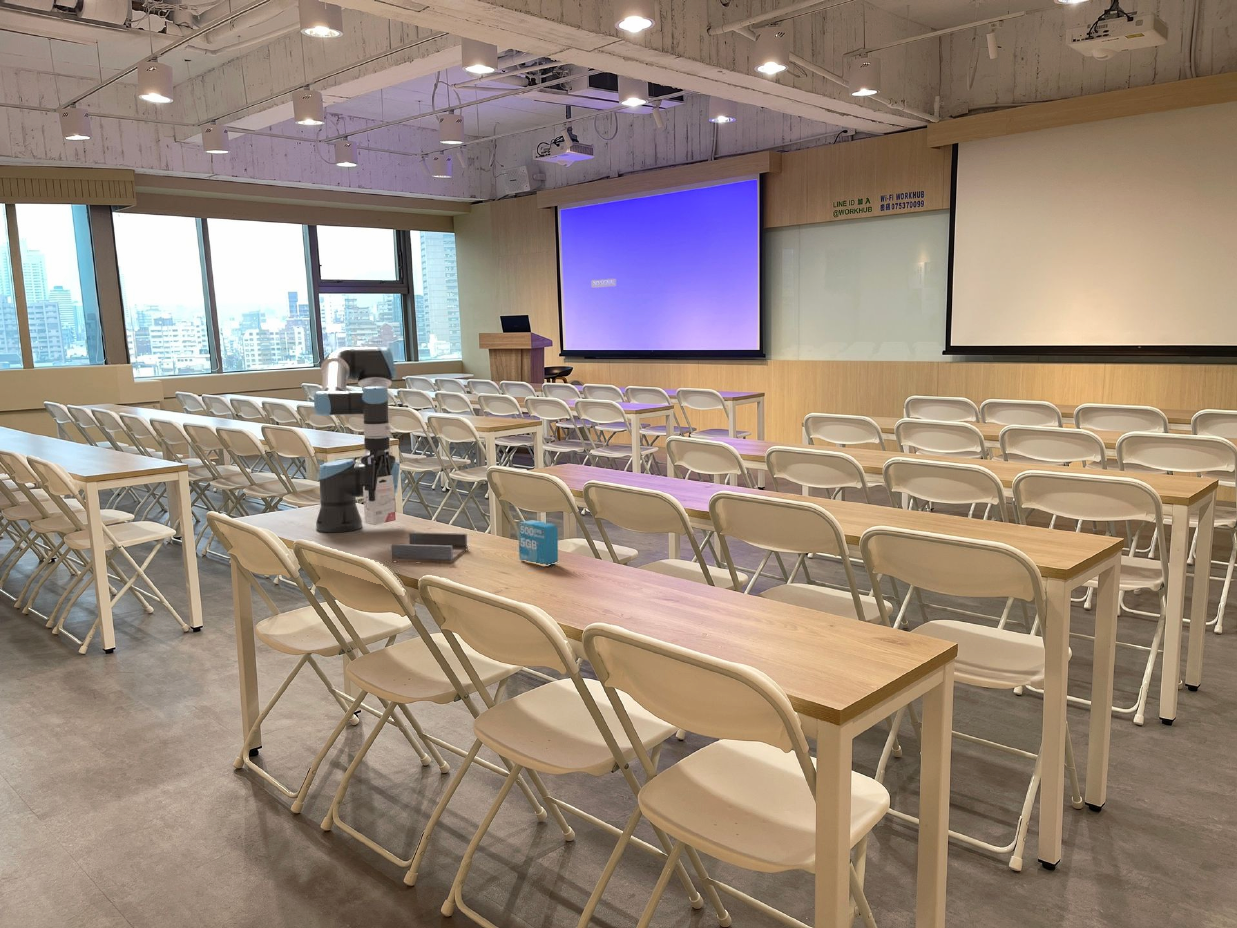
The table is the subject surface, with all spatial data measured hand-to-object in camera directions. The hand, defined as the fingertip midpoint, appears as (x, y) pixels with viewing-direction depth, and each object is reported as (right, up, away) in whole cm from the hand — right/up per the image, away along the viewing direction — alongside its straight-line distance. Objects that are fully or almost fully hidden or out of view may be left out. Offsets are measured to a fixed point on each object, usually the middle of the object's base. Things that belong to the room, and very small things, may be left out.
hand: (379, 507), depth 280 cm
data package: (+51, -16, -18) cm, 57 cm away
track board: (+18, -14, -9) cm, 25 cm away
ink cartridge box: (0, -5, +1) cm, 5 cm away
